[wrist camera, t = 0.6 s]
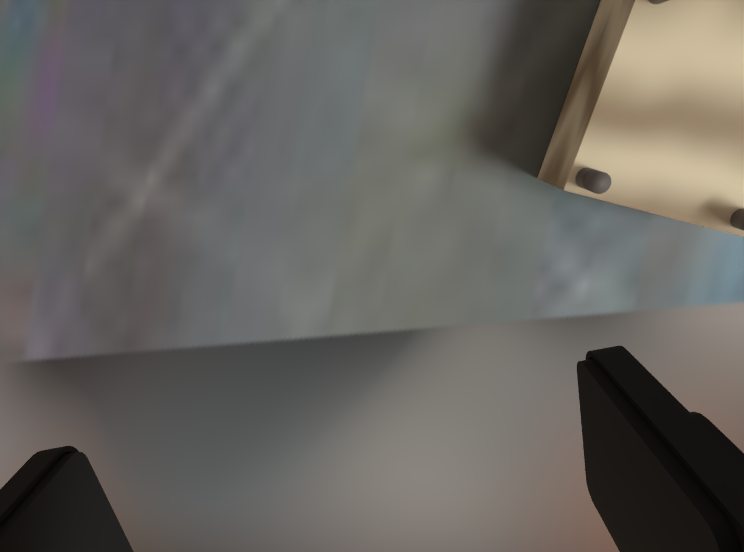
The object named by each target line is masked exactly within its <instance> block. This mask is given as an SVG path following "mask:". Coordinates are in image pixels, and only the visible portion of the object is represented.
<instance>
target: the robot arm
mask: <svg viewBox="0 0 744 552" xmlns="http://www.w3.org/2000/svg"><path fill="white" fill-rule="evenodd" d="M577 376H578V387H579V400H580V412H581V424H582V435H583V447H584V459H585V471H586V481H587V486H588V490H589V493H590V496H591V499H592V501H593V503H594V505H595V507H596V509H597V510H598V512H599V514H600V516H601V517H602V520H603V521H604V523H605V525H606V527H607V529H608V531H609V533H610V534H611V536H612V538H613V540H614V542H615V544H616V545H617V547H618V549H619V551H620V552H744V453H742V451H740V450H739V449H738V448H737V447H736V446H735V445H734V444H733V443H732V442H731V441H730V440H729V439H728V438H727V437H726V436H725V435H724V434H723V433H722V432H721V431H720V430H719V429H718V428H717V427H716V426H715V425H713V424H712V423H711V422H710V421H709V420H708V419H707V418H706V417H704V416H703V415H702V414H700V413H696V412H689V411H688V410H687V409H685V407H684V406H683V405H682V404H681V403H680V402H679V401H678V400H676V398H674V396H672V394H671V393H670V392H668V390H667V389H666V388H664V387H663V386H662V384H661V383H659V382H658V380H657V379H656V378H654V377H653V376H652V375H651V374H650V373H649V372H648V371H647V370H646V369H645V368H644V367H643V366H642V365H641V364H640V363H639V362H638V361H637V360H636V359H635V358H634V357H633V356H632V355H631V354H630V353H629V352H628V351H627V350H626V349H625V348H624V347H623V346H615V347H609V348H604V349H598V350H593V351H588V353H587V354H586V360H584V361H579V362H578V363H577ZM0 552H133V550H132V548H131V546H130V544H129V542H128V540H127V538H126V536H125V534H124V531H123V529H122V527H121V525H120V523H119V521H118V519H117V517H116V515H115V513H114V511H113V509H112V507H111V505H110V503H109V501H108V499H107V497H106V495H105V493H104V491H103V489H102V487H101V485H100V483H99V480H98V478H97V476H96V475H95V472H94V470H93V468H92V466H91V464H90V462H89V460H88V458H87V457H86V455H85V454H83V453H82V452H79V451H78V450H77V449H76V448H74V447H72V446H65V447H59V448H54V449H48V450H44V451H39V452H37V453H36V454H34V455H33V456H32V457H31V458H30V459H29V460H28V461H27V462H26V463H25V464H24V465H23V466H22V467H21V468H20V469H19V470H18V471H17V473H16V474H15V475H14V476H13V477H12V478H11V479H10V480H9V481H8V482H7V483H6V484H5V485H4V486H3V487H2V488H1V489H0Z"/></svg>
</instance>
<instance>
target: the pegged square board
mask: <svg viewBox="0 0 744 552" xmlns="http://www.w3.org/2000/svg"><path fill="white" fill-rule="evenodd" d="M538 179H541V180H543V181H545V182H547V183H549V184H551V185H553V186H556V187H558V188H560V189H562V190H565V191H569V192H572V193H576V194H580V195H584V196H588V197H592V198H596V199H599V200H603V201H607V202H611V203H615V204H619V205H623V206H626V207H630V208H634V209H638V210H642V211H646V212H650V213H653V214H657V215H661V216H665V217H669V218H673V219H677V220H680V221H684V222H688V223H692V224H696V225H700V226H704V227H707V228H711V229H715V230H719V231H723V232H727V233H731V234H734V235H738V236H742V237H744V0H601V1H600V4H599V7H598V10H597V12H596V15H595V18H594V21H593V24H592V26H591V29H590V32H589V35H588V38H587V40H586V43H585V46H584V49H583V52H582V54H581V57H580V60H579V63H578V66H577V68H576V71H575V74H574V77H573V80H572V82H571V85H570V88H569V91H568V94H567V97H566V99H565V102H564V105H563V108H562V111H561V113H560V116H559V119H558V122H557V125H556V127H555V130H554V133H553V136H552V139H551V141H550V144H549V147H548V150H547V153H546V155H545V158H544V161H543V164H542V167H541V169H540V172H539V175H538Z"/></svg>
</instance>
